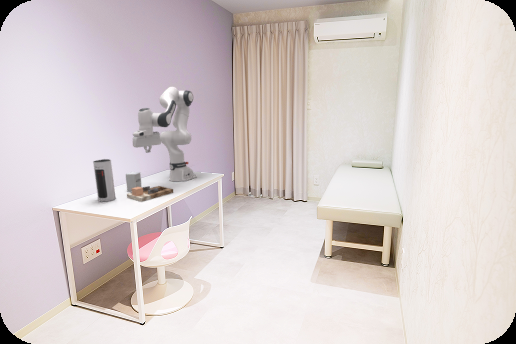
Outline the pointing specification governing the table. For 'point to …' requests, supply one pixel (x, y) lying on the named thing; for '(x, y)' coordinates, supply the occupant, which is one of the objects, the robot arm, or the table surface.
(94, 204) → the table surface
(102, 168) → the speaker
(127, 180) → the supplement box
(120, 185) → the table surface
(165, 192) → the wooden tray
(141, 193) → the terracotta block
